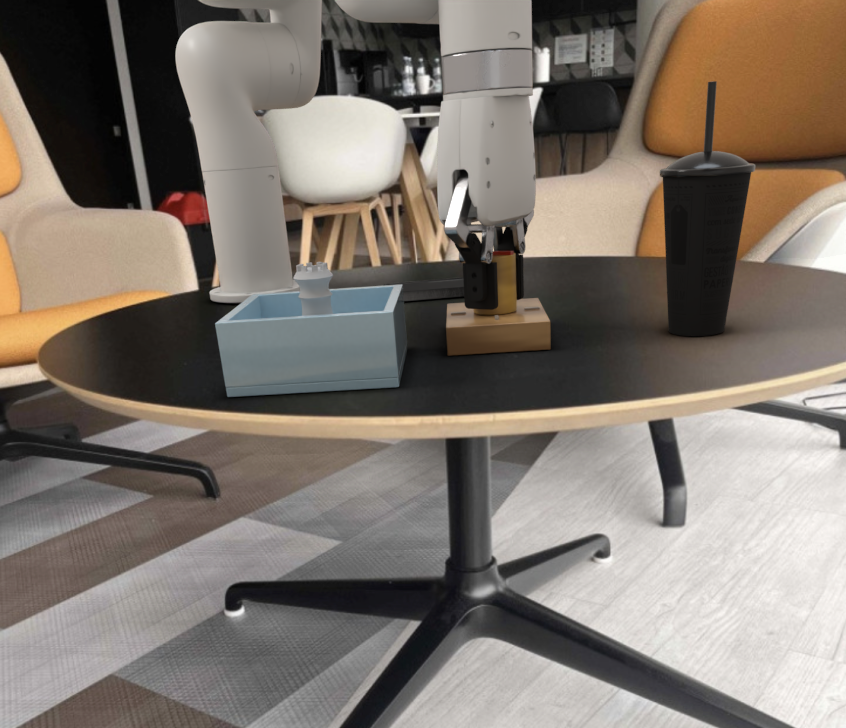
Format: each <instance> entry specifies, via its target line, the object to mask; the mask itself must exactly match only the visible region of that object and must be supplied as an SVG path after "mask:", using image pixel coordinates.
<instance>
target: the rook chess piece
mask: <svg viewBox="0 0 846 728" xmlns="http://www.w3.org/2000/svg"><path fill="white" fill-rule="evenodd" d="M295 267H296V272H295V274H294V276H292V277H293V280H295V281H296V282H297V284H298V285H299V286H300V295H299V296H298V297H299V298H300V300H301V304H302V316H309V315H324V314H333V311H332V307H331V299H330V297H331V296H332V293H331V292H330V291H329V289H330V287H329V286H330V282H331V280H332V278H333V277H334V274H333V273H332V272H331V271H330V269H329V266H328V262H324V261H317V262H316V264H315V265H313V262H305V265H304V263H299V264H297V265H295Z"/></svg>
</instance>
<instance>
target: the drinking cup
mask: <svg viewBox="0 0 846 728" xmlns="http://www.w3.org/2000/svg"><path fill="white" fill-rule="evenodd" d="M717 83H718V82H717V81H715V80H714V81H708V82H707V90H706V91H707V92H706V93H707V94H706V105H705V106H706V107H705V123H704V124H705V126H704V138H703V139H704V140H703V151H699V152H694V153H691V154H689V155H685V156H683V157H680V158H678V159H676V160H675V161H673V162H672V163H670V164H669V165H668V166H667V167H664V168H661V169H659V177H660V178H662V196H663V216H664V217H663V218H664V219H663V221H664V223H663V224H664V245H665V273H666V276H665V277H666V300H667V322H668V323H667V326H668V327H667V328H668V332H669V333H670V334H672V335H675V336H684V337H708V336H714V335H719V334H723V332H725V328H726V322H727V316H728V310H729V304H730V299H731V293H732V287H733V282H734V276H735V270H736V263H737V258H738V253H739V246H740V240H741V234H742V230H743V229H742V228H743V224H744V217H745V211H746V207H747V206H746V205H747V201H748V200H747V199H748V194H749V188H750V183H751V176H752V173H754V172H755V171H756V163H750V162H748V161H747V160H746V159H744V158H742V157H741V156H739V155H737V154H734V153H730V152H725V151H720V150H713V146H714V145H713V144H714V128H715V116H716V115H715V114H716V99H717V98H716V97H717Z"/></svg>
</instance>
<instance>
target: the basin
mask: <svg viewBox="0 0 846 728" xmlns="http://www.w3.org/2000/svg"><path fill="white" fill-rule="evenodd" d="M329 291H330V292H331V293H332V296H331V297H330V299H331V307H332V311H333V314H324V315H309V316H302V304H301V300H300V298H299V297H298V296H299V295H300V291H295V292H280V293H264V294H253V295H251V296H250V297H249V298H247V299H246V300H245V301H243V302H242V303H239V304H238V305H237V306H236V307H234V308H233V309H232V310H231V311H229V312H228V313H226V314H225V315H224V316H223V317H221V318H220V319H218V321H216V322H215V323H214V325H215V332H216V339H217V345H218V349H219V350H218V351H219V356H220V361H221V362H220V363H221V368H222V374H223V380H224V386H225V391H226V397H227V398H240V397H241V398H242V397H257V396H258V397H259V396H275V395H293V394H307V393H308V394H309V393H325V392H342V391H343V392H344V391H357V390H358V391H360V390H361V391H362V390H374V389H375V390H377V389H394V388H399V387H400V384H401V379H402V375H403V371H404V365H405V362H406V358H407V353H408V338H407V337H408V336H407V322H406V308H405V301H404V294H403V285H402V284H401V285H386V286H383V285H376V286H375V285H374V286H373V285H372V286H358V287H341V288H329Z"/></svg>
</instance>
